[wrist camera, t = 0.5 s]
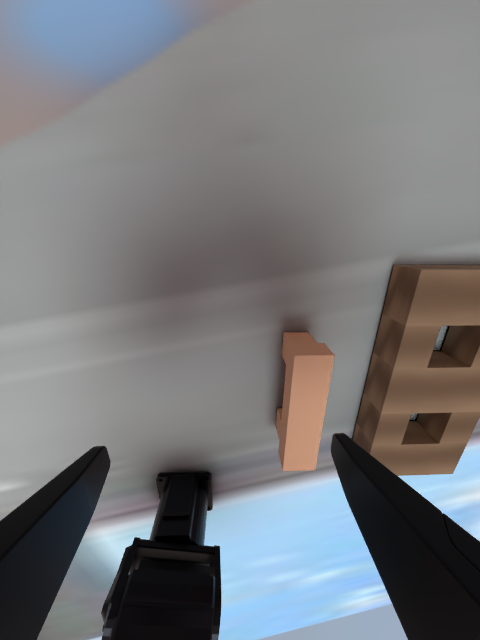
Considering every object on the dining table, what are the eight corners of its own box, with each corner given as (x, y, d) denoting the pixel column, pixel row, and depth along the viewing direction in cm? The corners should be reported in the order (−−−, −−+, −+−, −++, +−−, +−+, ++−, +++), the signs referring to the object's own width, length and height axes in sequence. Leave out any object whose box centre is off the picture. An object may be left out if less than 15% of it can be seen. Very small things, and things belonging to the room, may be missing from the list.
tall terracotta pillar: (299, 427, 25) (315, 470, 21) (273, 427, 25) (282, 471, 21) (311, 329, 21) (334, 355, 17) (280, 329, 21) (294, 355, 17)
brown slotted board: (430, 449, 27) (452, 473, 25) (349, 451, 27) (363, 476, 24) (503, 265, 20) (548, 269, 17) (393, 265, 20) (421, 269, 17)
